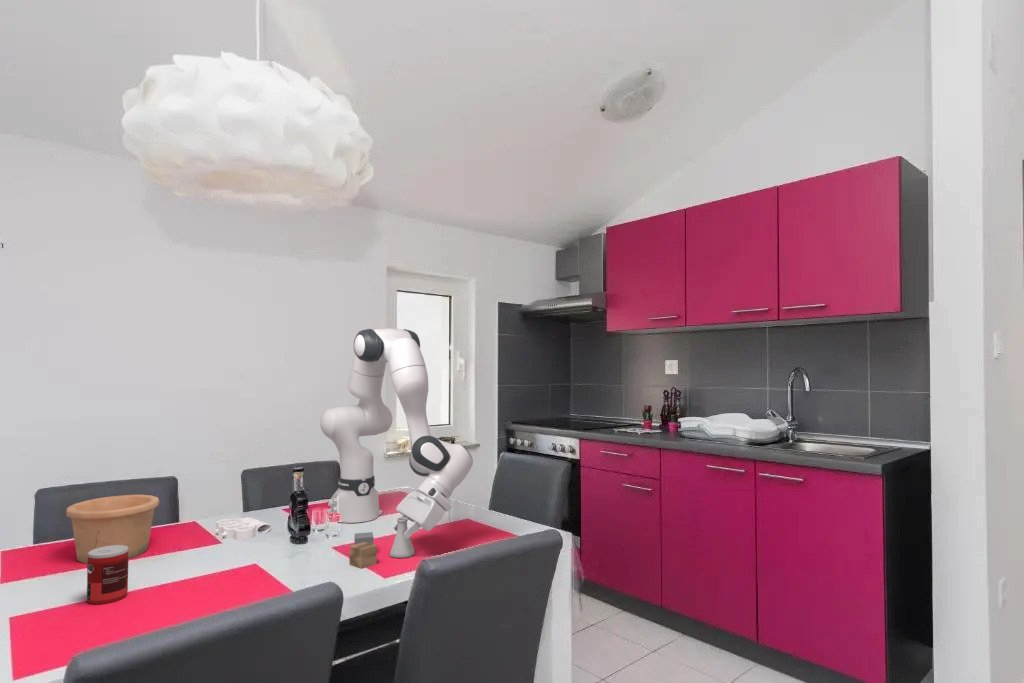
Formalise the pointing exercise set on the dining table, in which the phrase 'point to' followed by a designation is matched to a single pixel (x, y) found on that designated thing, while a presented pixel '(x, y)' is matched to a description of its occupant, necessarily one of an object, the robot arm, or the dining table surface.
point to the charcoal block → (364, 538)
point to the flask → (402, 541)
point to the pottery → (112, 523)
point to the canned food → (107, 574)
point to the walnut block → (363, 555)
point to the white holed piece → (240, 528)
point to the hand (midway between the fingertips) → (400, 533)
